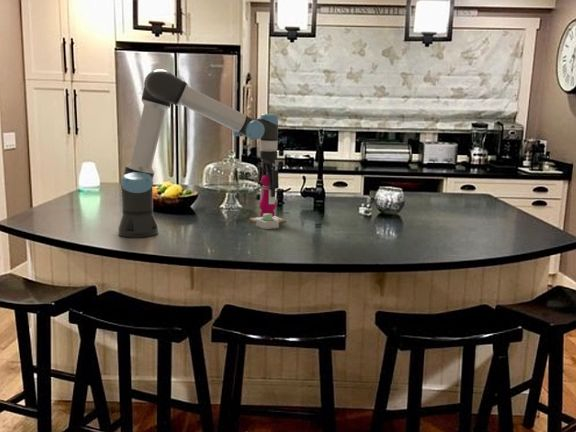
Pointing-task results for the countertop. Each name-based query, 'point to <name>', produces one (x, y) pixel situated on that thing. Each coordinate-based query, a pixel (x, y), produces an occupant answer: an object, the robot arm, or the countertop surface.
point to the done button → (267, 217)
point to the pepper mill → (266, 198)
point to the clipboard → (272, 217)
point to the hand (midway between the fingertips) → (267, 202)
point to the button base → (267, 223)
